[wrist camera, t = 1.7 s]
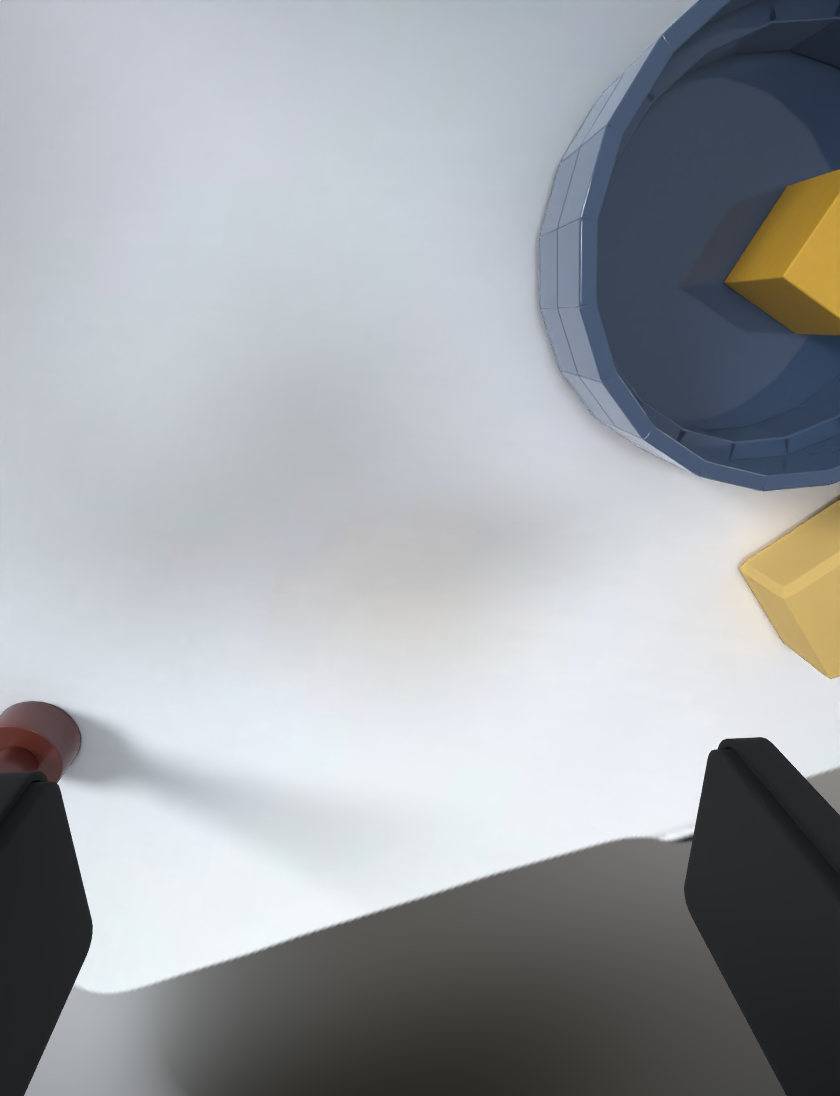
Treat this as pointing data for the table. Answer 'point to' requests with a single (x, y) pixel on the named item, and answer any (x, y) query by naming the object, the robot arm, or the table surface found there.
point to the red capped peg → (37, 740)
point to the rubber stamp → (803, 588)
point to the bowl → (699, 245)
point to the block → (797, 259)
